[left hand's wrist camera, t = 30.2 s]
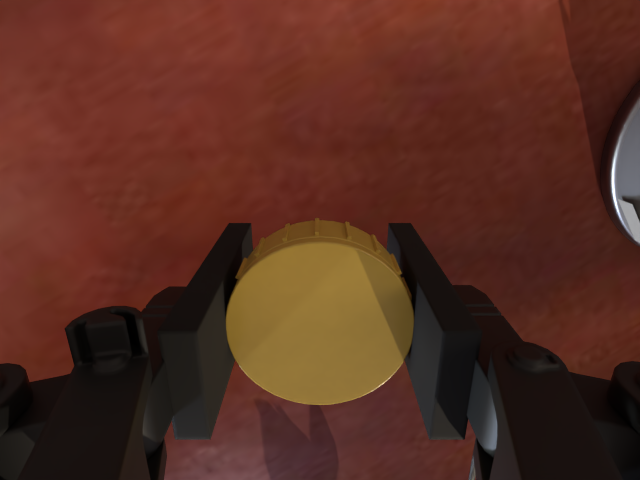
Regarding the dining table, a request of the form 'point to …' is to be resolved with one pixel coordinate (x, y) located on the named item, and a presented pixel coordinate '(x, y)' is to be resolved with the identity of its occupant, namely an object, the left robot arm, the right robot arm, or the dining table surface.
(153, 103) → the dining table surface
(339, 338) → the lid
